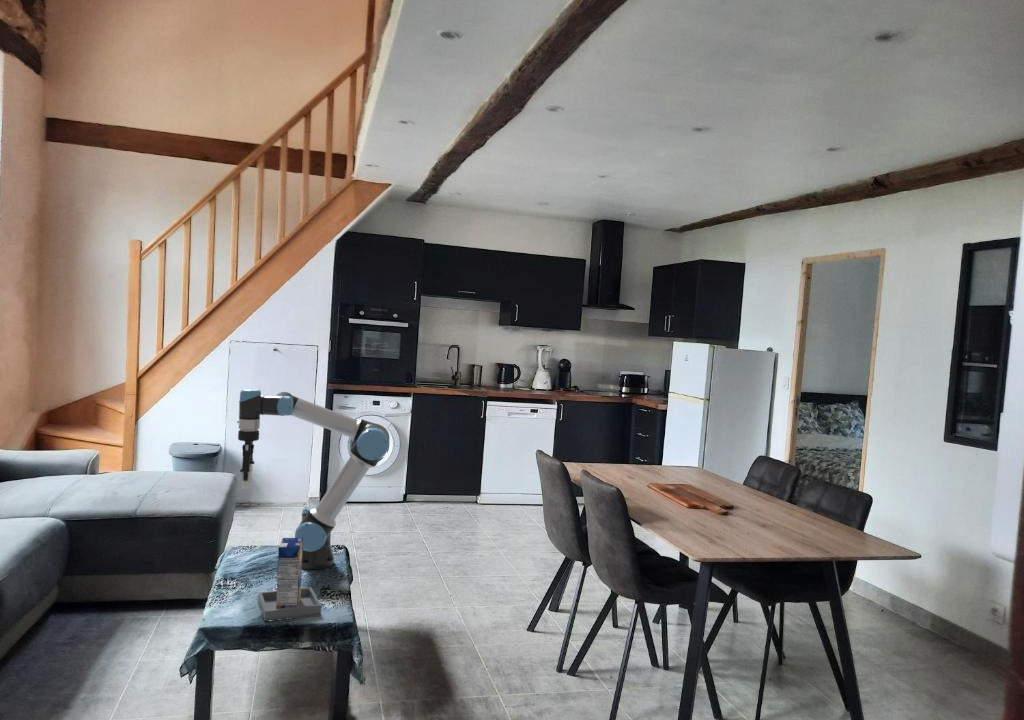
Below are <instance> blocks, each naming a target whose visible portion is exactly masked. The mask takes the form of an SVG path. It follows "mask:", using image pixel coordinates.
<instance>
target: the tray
mask: <svg viewBox="0 0 1024 720" xmlns="http://www.w3.org/2000/svg"><path fill="white" fill-rule="evenodd" d="M257 595H258V597H257V598H258V599H257V603H259V604H258V606H259V605H260V607H259V609H260V608H261V610H260V612H261V611H262V613H261V615H262V614H263V616H262V618H263V617H264V619H263V621H264V620H265V621H269V620H278V619H287V618H288V619H287V620H290V619H289V618H295V619H300V618H299V617H304V618H308V617H307V616H312V617H318V615H322V604H321V603H320V600H319V598H318V597H317V595H316V593H315V591H314V589H313V588H312V587H311V586H309V587H308V586H307V587H301V600H300V604H299V607H291V608H282V609H276V602H277V590H271V591H259V592H258V593H257ZM297 617H298V618H297Z"/></svg>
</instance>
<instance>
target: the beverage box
mask: <svg viewBox="0 0 1024 720" xmlns="http://www.w3.org/2000/svg"><path fill="white" fill-rule="evenodd" d="M302 555H303V538H295V537H282V539H281V541H280V543H279V546H278V556H277V557H278V559H277V579H276V580H277V583H276V591H277V602H276V609H282V608H291V607H299V604H300V600H301V588H302V579H303V578H302V573H303V568H302Z"/></svg>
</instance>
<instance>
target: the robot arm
mask: <svg viewBox="0 0 1024 720" xmlns="http://www.w3.org/2000/svg"><path fill="white" fill-rule="evenodd" d="M238 403H239V404H238V405H239V408H238V411H239V412H238V414H239V415H238V421H236V423H237V424H238V431H237V439H238V441H241V442H244V443H243V444H242V447H241V448H242V452H241V453H242V462H241V463H242V465H241V469H240V470H239V472H240V473H241V490H250V482H253V465H255V460H254V458H253V456H254V450H255V449H254V448H255V444H254V442H256V441H259V439H260V431H259V430H260V428H261V426H260V425H261V417H260V416H261V415H262V416H263V415H264V416H281V417H285V416H292V417H295V418H298V419H300V420H303V421H305V422H308V423H311V424H313V425H316V426H318V427H320V428H324V429H327V430H330V431H332V432H335V433H337V434H339V435H342V436H345V437H348V438H350V439H351V441H352V442H354V444H353V445H352V447H351V449H350V450H349V453H350V457H349V458H348V460H346V463H345V464H344V465H343V467H342V468H341V470H340V472H339V473H338V474H337V476H336V478H335V479H334V480H333V482H332V483H331V484H330V487H329V488H328V489H327V491H326V492H325V493H324V495H323V496H322V498H321V499H320V501H319V503H318V504H317V505H316V506H310V507H304V508H302V512H301V522H300V524H299V525H298V526H297V527H296V529H295V532H294V538H303V555H302V570H303V569H304V570H323V569H328V568H330V567H333V566H334V564H335V556H334V552H333V549H332V546H331V538H332V537H331V536H332V531H333V530H334V528H335V527H336V525H337V523H336V518H337V517H338V515H339V514H340V513H341V511H342V510H343V508H344V506H345V505H346V503H348V501H349V499H350V497H351V496H352V494H353V493H354V492H355V491H356V489H357V487H358V486H359V484H360V483H361V482H362V480H363V478H364V477H365V475H366V474H367V472H368V471H369V469H371V468H375V467H377V465H378V463H379V462H380V460H381V459H382V457H384V456H385V455H386V454H387V452H388V450H389V447H390V434H389V432H388V430H387V428H385V427H384V425H381V424H378V423H374V422H371V421H367V420H365V419H362V418H360V419H355V418H353V417H350V416H348V415H344V414H343V413H341V412H337V411H334V410H331V409H329V408H326V407H324V406H321V405H318V404H316V403H313V402H310V401H307V400H305V399H303V398H300V397H297V396H295V395H292V394H291V393H290V392H287V391H281V392H279V393H276V395H269V394H268V395H263V394H262V392H261V390H260V389H255V388H246V389H242V390H241V391H240V393H239V401H238ZM327 567H328V568H327Z"/></svg>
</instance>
